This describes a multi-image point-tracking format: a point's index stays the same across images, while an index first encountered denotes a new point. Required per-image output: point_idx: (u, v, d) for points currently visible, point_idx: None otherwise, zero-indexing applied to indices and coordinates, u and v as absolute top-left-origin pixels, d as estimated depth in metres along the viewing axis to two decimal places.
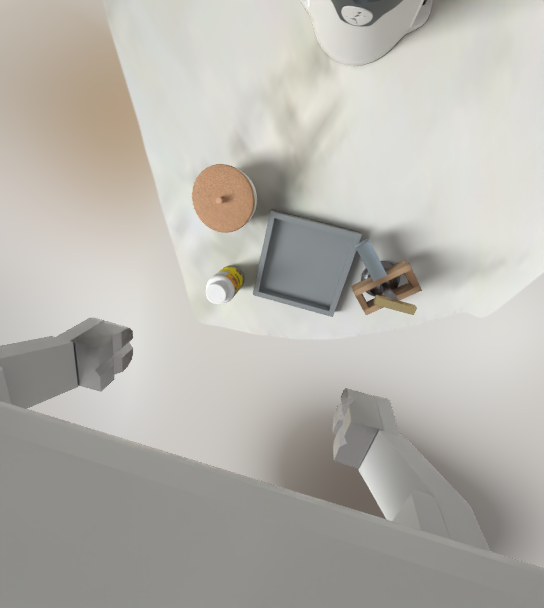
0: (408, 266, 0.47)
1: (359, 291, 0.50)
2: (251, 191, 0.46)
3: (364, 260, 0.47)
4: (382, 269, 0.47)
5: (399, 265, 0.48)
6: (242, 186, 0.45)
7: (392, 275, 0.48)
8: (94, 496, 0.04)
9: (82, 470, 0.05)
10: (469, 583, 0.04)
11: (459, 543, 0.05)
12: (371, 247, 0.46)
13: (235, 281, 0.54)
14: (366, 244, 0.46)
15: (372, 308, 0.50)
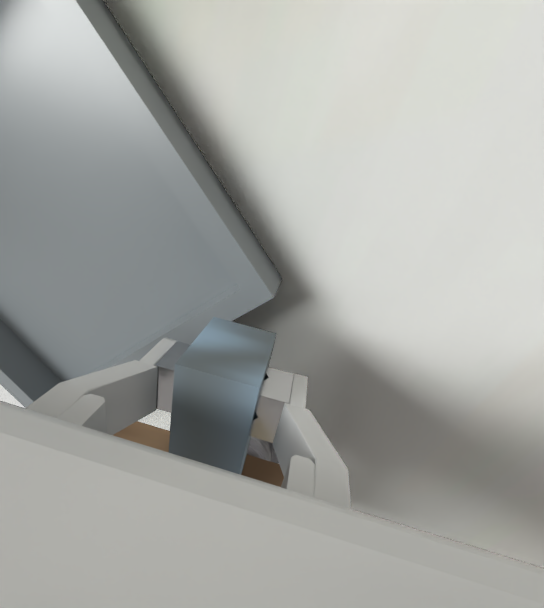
0: None
1: None
2: None
3: (179, 430, 0.09)
4: None
5: None
6: None
7: None
8: (94, 496, 0.04)
9: (82, 470, 0.05)
10: (469, 583, 0.04)
11: (459, 543, 0.05)
12: (245, 413, 0.08)
13: None
14: (234, 385, 0.08)
15: None
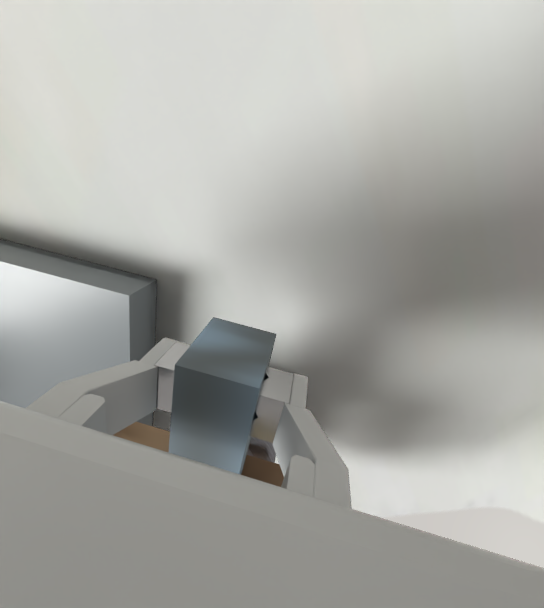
0: None
1: None
2: None
3: (179, 430, 0.09)
4: None
5: None
6: None
7: None
8: (94, 496, 0.04)
9: (82, 470, 0.05)
10: (469, 583, 0.04)
11: (459, 543, 0.05)
12: (245, 414, 0.08)
13: None
14: (234, 386, 0.08)
15: None
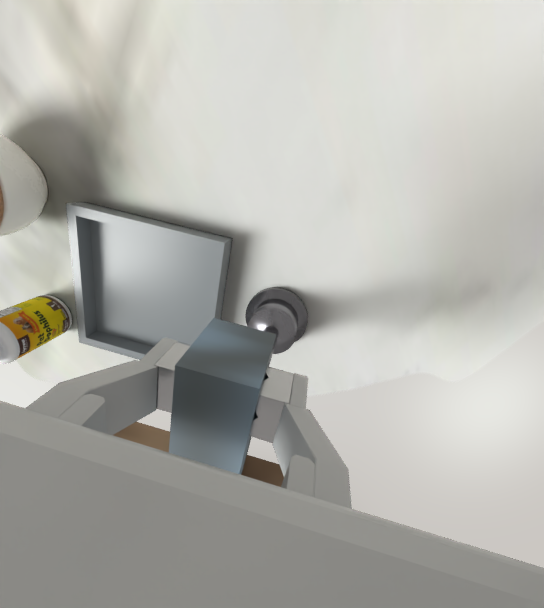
0: None
1: None
2: None
3: (179, 431, 0.09)
4: None
5: None
6: None
7: None
8: (94, 496, 0.04)
9: (82, 470, 0.05)
10: (469, 583, 0.04)
11: (459, 543, 0.05)
12: (245, 414, 0.08)
13: (27, 325, 0.32)
14: (234, 386, 0.08)
15: None
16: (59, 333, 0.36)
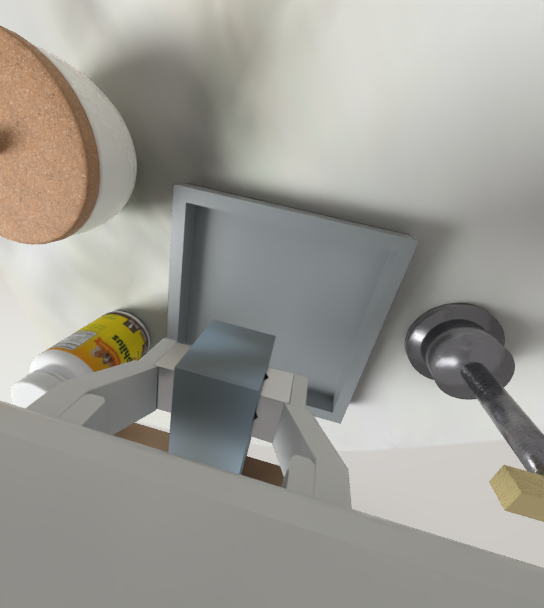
0: None
1: None
2: (69, 108, 0.14)
3: (178, 433, 0.09)
4: None
5: None
6: (36, 93, 0.14)
7: None
8: (94, 496, 0.04)
9: (82, 470, 0.05)
10: (469, 583, 0.04)
11: (459, 543, 0.05)
12: (245, 416, 0.08)
13: (107, 357, 0.23)
14: (233, 388, 0.08)
15: None
16: None
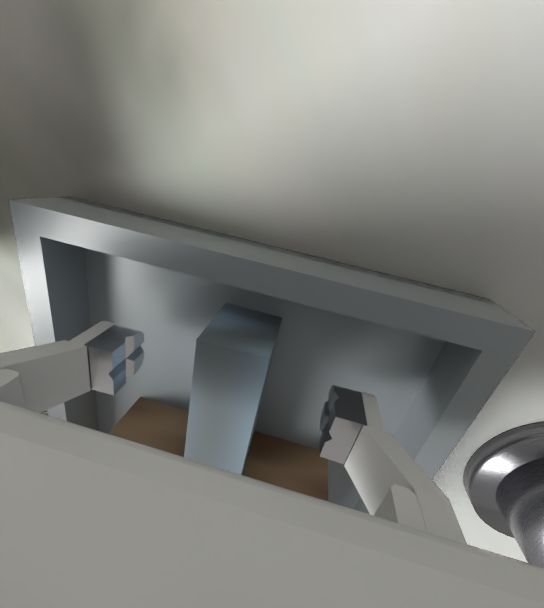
0: None
1: None
2: None
3: (197, 399, 0.10)
4: (236, 467, 0.11)
5: (301, 469, 0.13)
6: None
7: None
8: (94, 496, 0.04)
9: (82, 470, 0.05)
10: (469, 583, 0.04)
11: (459, 543, 0.05)
12: (256, 382, 0.09)
13: None
14: (247, 357, 0.09)
15: None
16: None
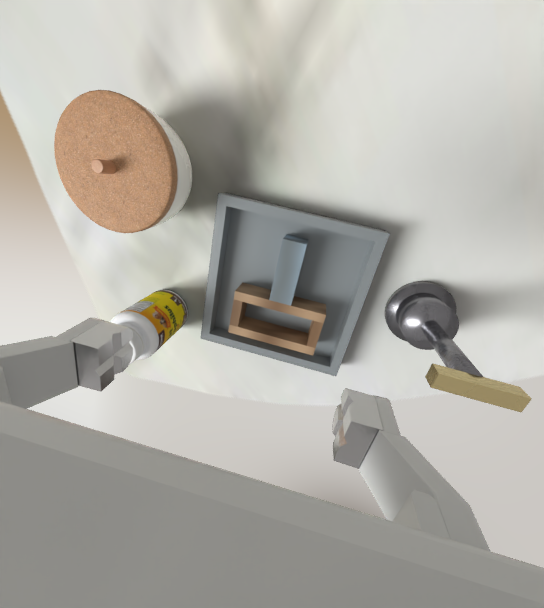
0: (322, 316, 0.30)
1: (242, 297, 0.30)
2: (165, 146, 0.22)
3: (280, 263, 0.28)
4: (291, 294, 0.29)
5: (315, 305, 0.31)
6: (145, 136, 0.22)
7: (296, 311, 0.30)
8: (94, 496, 0.04)
9: (82, 470, 0.05)
10: (469, 583, 0.04)
11: (459, 543, 0.05)
12: (302, 254, 0.27)
13: (163, 320, 0.31)
14: (299, 244, 0.27)
15: (242, 329, 0.32)
16: (178, 329, 0.35)
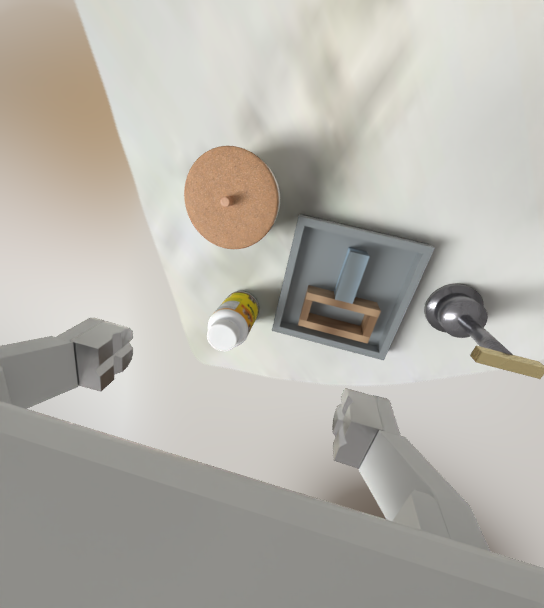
0: (378, 312, 0.37)
1: (313, 297, 0.38)
2: (274, 186, 0.30)
3: (346, 271, 0.36)
4: (353, 294, 0.37)
5: (369, 303, 0.39)
6: (260, 179, 0.29)
7: (357, 308, 0.38)
8: (94, 496, 0.04)
9: (82, 470, 0.05)
10: (469, 583, 0.04)
11: (459, 543, 0.05)
12: (365, 263, 0.35)
13: (249, 315, 0.38)
14: (363, 256, 0.35)
15: (309, 323, 0.40)
16: None
